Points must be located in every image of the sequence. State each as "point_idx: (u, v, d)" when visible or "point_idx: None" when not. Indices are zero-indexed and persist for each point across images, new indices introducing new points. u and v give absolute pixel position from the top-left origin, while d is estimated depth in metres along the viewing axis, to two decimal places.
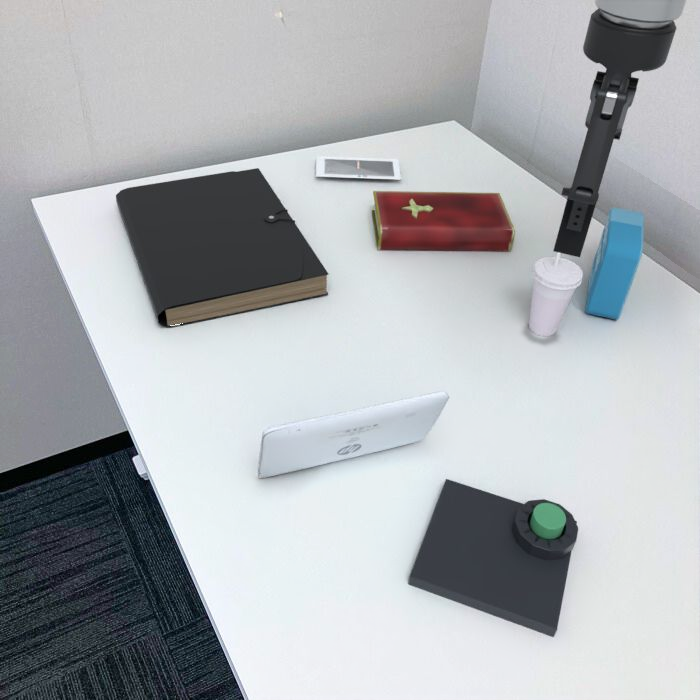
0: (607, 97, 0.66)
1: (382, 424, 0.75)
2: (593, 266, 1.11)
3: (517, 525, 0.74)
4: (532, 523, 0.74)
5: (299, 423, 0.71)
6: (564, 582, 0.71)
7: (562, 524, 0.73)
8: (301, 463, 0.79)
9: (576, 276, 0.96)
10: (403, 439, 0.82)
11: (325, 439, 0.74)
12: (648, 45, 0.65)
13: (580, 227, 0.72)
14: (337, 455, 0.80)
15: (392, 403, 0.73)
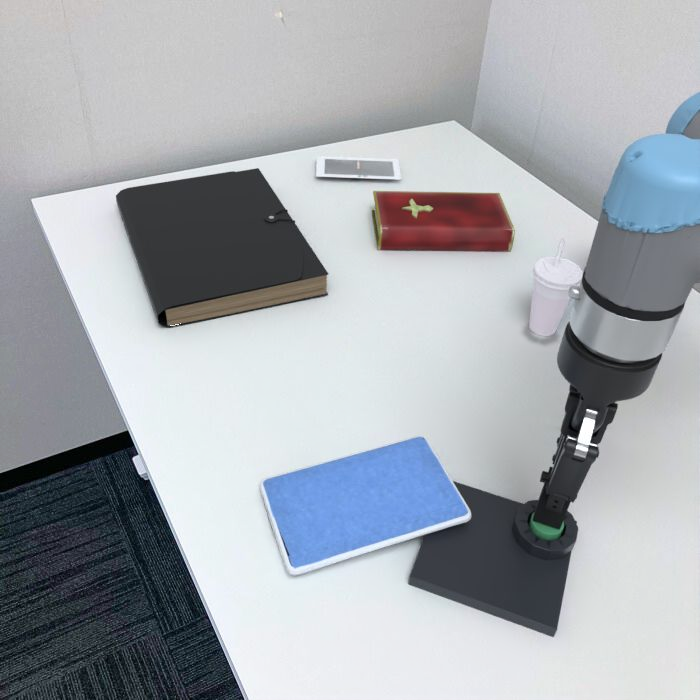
0: (575, 455, 0.59)
1: None
2: None
3: (517, 525, 0.74)
4: (530, 528, 0.74)
5: (325, 565, 0.71)
6: (564, 582, 0.71)
7: (560, 529, 0.73)
8: None
9: (576, 276, 0.96)
10: None
11: None
12: (630, 380, 0.57)
13: (559, 510, 0.70)
14: None
15: (417, 536, 0.73)
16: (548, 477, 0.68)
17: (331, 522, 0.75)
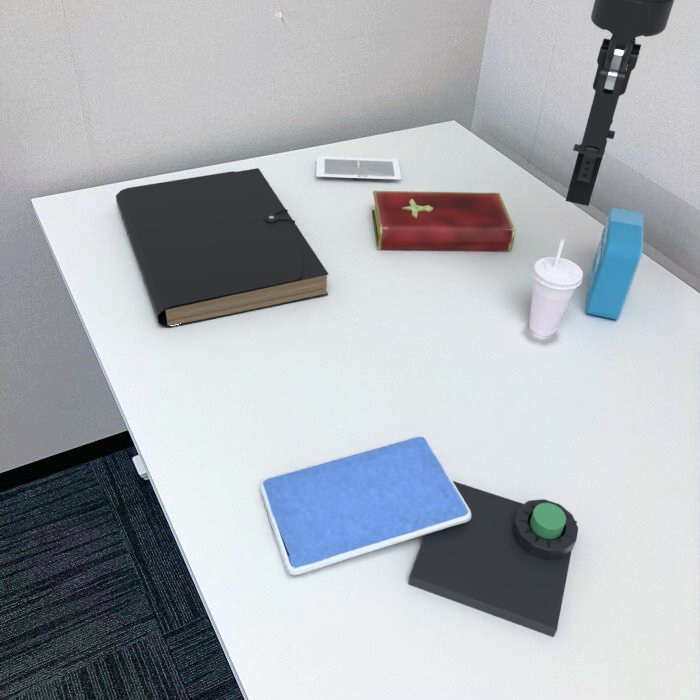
0: (607, 79, 0.75)
1: None
2: (593, 266, 1.11)
3: (517, 525, 0.74)
4: (532, 523, 0.74)
5: (325, 565, 0.71)
6: (564, 582, 0.71)
7: (562, 524, 0.73)
8: None
9: (576, 276, 0.96)
10: None
11: None
12: (650, 12, 0.73)
13: (589, 178, 0.85)
14: None
15: (417, 536, 0.73)
16: (580, 145, 0.83)
17: (331, 522, 0.75)
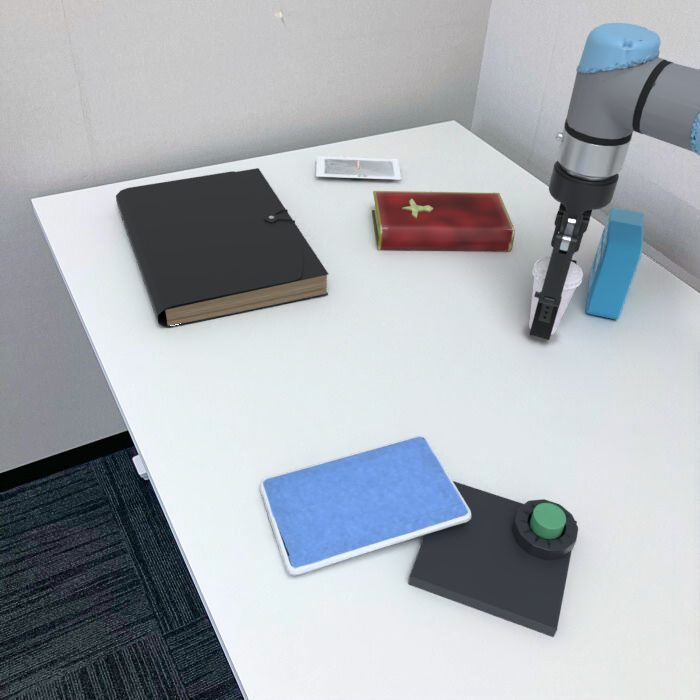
0: (562, 242, 0.87)
1: None
2: (593, 266, 1.11)
3: (517, 525, 0.74)
4: (532, 523, 0.74)
5: (325, 565, 0.71)
6: (564, 582, 0.71)
7: (562, 524, 0.73)
8: None
9: (576, 276, 0.96)
10: None
11: None
12: (596, 193, 0.86)
13: (548, 320, 0.96)
14: None
15: (417, 536, 0.73)
16: (540, 292, 0.95)
17: (331, 522, 0.75)
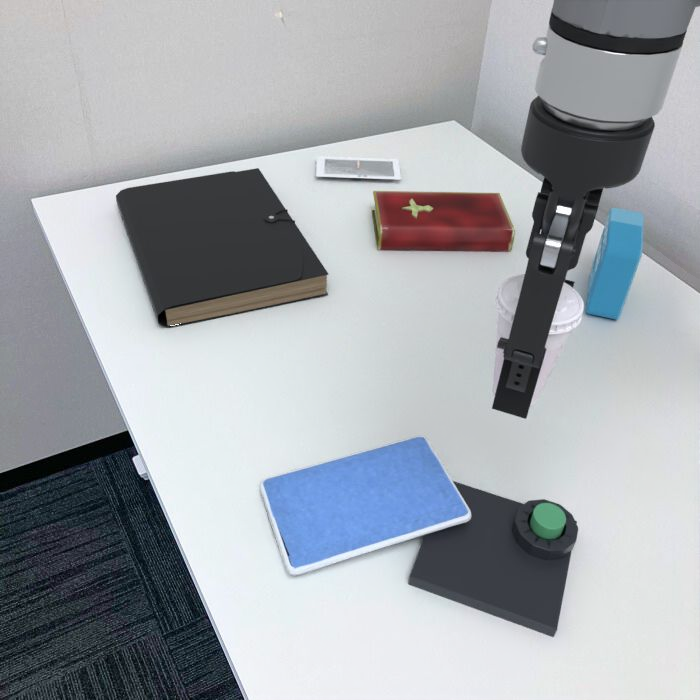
0: (545, 250, 0.45)
1: None
2: (593, 266, 1.11)
3: (517, 525, 0.74)
4: (532, 523, 0.74)
5: (325, 565, 0.71)
6: (564, 582, 0.71)
7: (562, 524, 0.73)
8: None
9: (572, 309, 0.54)
10: None
11: None
12: (611, 154, 0.44)
13: (523, 388, 0.54)
14: None
15: (417, 536, 0.73)
16: (508, 340, 0.53)
17: (331, 522, 0.75)
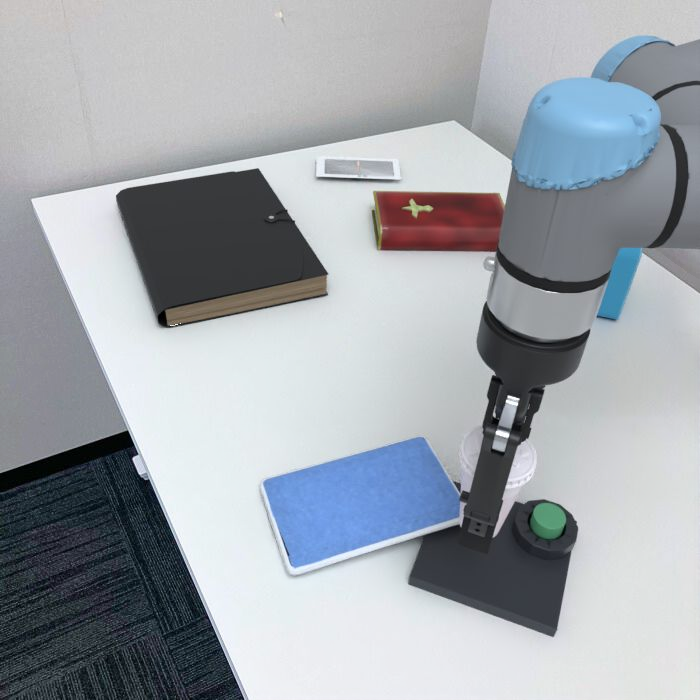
0: (495, 440, 0.52)
1: None
2: None
3: (517, 525, 0.74)
4: (532, 523, 0.74)
5: (325, 565, 0.71)
6: (564, 582, 0.71)
7: (562, 524, 0.73)
8: None
9: (526, 464, 0.61)
10: None
11: None
12: (551, 362, 0.50)
13: (483, 534, 0.61)
14: None
15: (417, 536, 0.73)
16: (468, 495, 0.59)
17: (331, 522, 0.75)
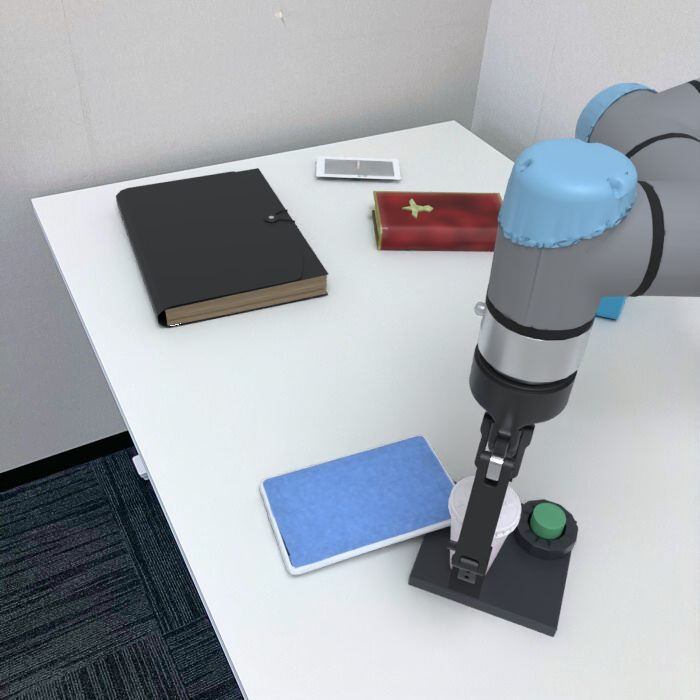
0: (490, 464, 0.53)
1: None
2: None
3: (517, 525, 0.74)
4: (532, 523, 0.74)
5: (326, 565, 0.71)
6: (564, 582, 0.71)
7: (562, 524, 0.73)
8: None
9: (511, 514, 0.65)
10: None
11: None
12: (539, 403, 0.53)
13: (472, 581, 0.60)
14: None
15: (417, 535, 0.73)
16: (457, 542, 0.58)
17: (332, 521, 0.75)
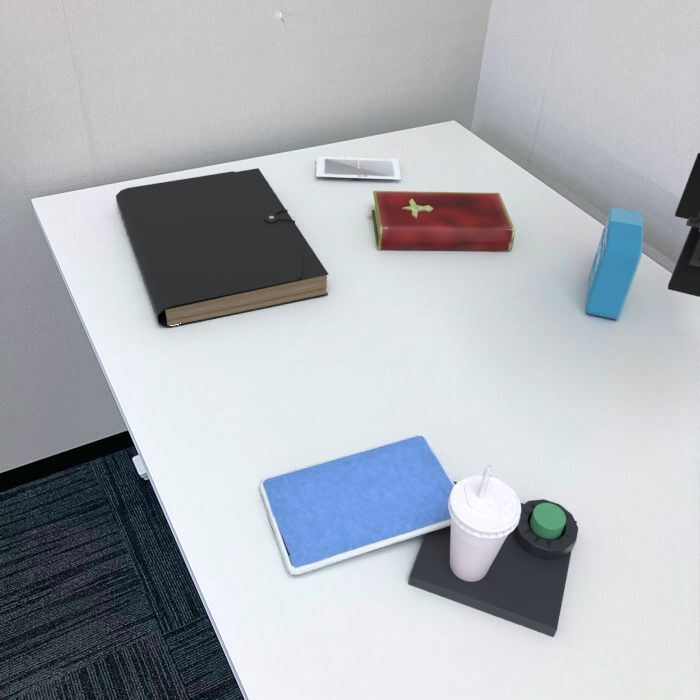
0: None
1: None
2: (593, 266, 1.11)
3: (517, 525, 0.74)
4: (532, 523, 0.74)
5: (326, 564, 0.71)
6: (564, 582, 0.71)
7: (562, 524, 0.73)
8: None
9: (511, 514, 0.65)
10: None
11: None
12: None
13: None
14: None
15: (417, 535, 0.73)
16: (697, 218, 0.60)
17: (332, 521, 0.75)
